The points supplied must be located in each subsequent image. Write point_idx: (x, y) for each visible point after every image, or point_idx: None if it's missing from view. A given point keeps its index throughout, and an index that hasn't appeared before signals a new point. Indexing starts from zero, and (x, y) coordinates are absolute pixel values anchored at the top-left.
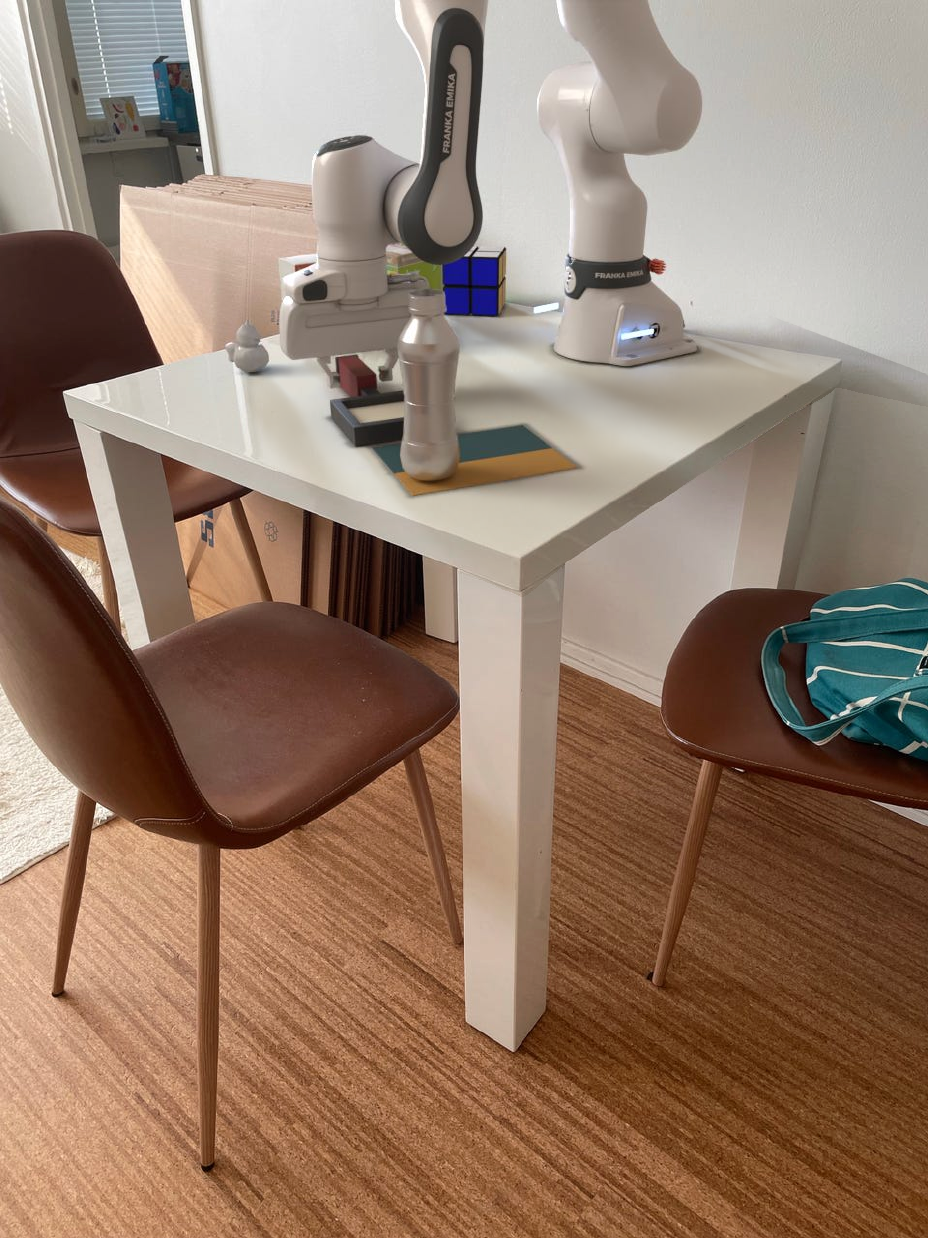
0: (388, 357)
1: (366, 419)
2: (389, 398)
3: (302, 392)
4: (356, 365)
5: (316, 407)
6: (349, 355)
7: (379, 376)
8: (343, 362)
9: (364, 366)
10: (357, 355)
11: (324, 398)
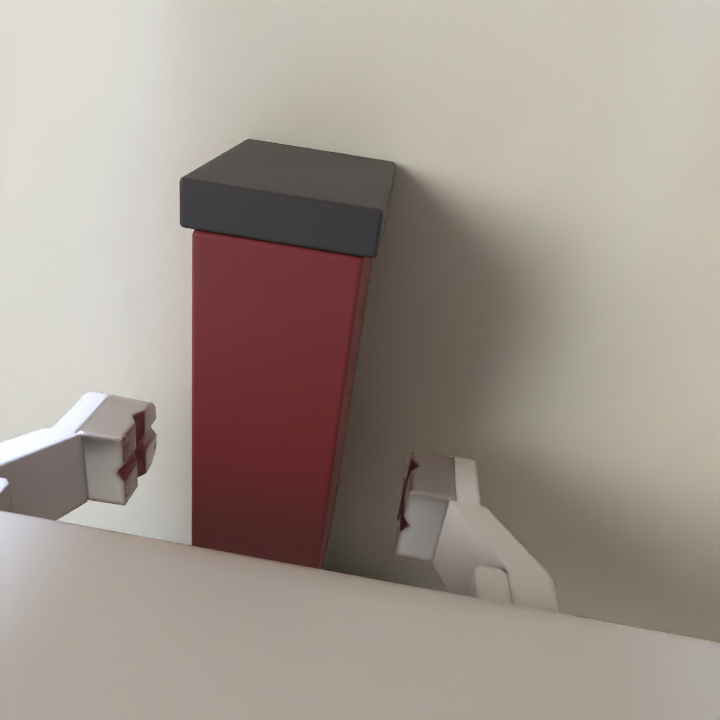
0: (479, 562)
1: None
2: None
3: (8, 158)
4: (263, 455)
5: (51, 413)
6: (310, 207)
7: (408, 464)
8: (200, 352)
9: (304, 497)
10: (374, 245)
11: (113, 322)
